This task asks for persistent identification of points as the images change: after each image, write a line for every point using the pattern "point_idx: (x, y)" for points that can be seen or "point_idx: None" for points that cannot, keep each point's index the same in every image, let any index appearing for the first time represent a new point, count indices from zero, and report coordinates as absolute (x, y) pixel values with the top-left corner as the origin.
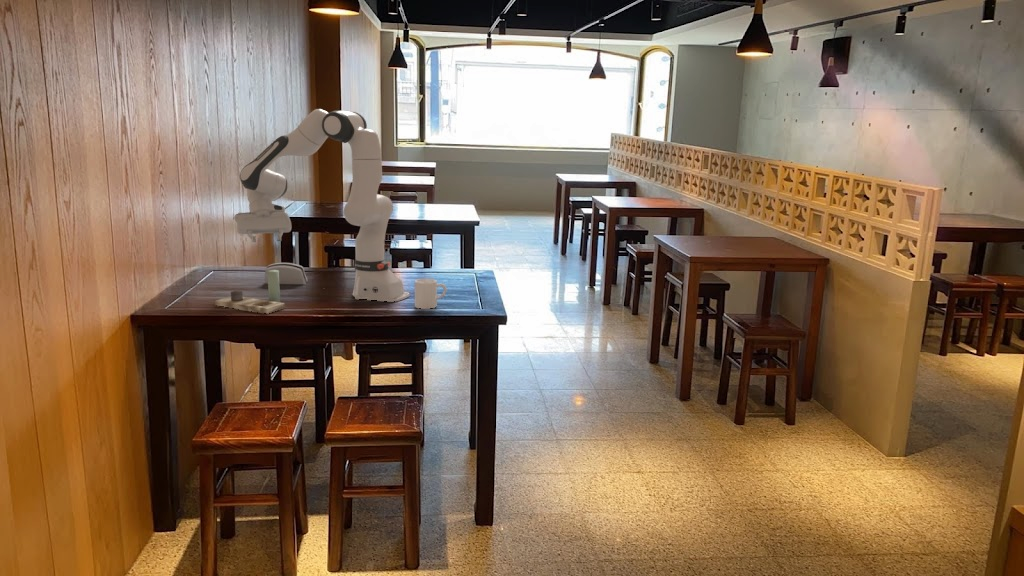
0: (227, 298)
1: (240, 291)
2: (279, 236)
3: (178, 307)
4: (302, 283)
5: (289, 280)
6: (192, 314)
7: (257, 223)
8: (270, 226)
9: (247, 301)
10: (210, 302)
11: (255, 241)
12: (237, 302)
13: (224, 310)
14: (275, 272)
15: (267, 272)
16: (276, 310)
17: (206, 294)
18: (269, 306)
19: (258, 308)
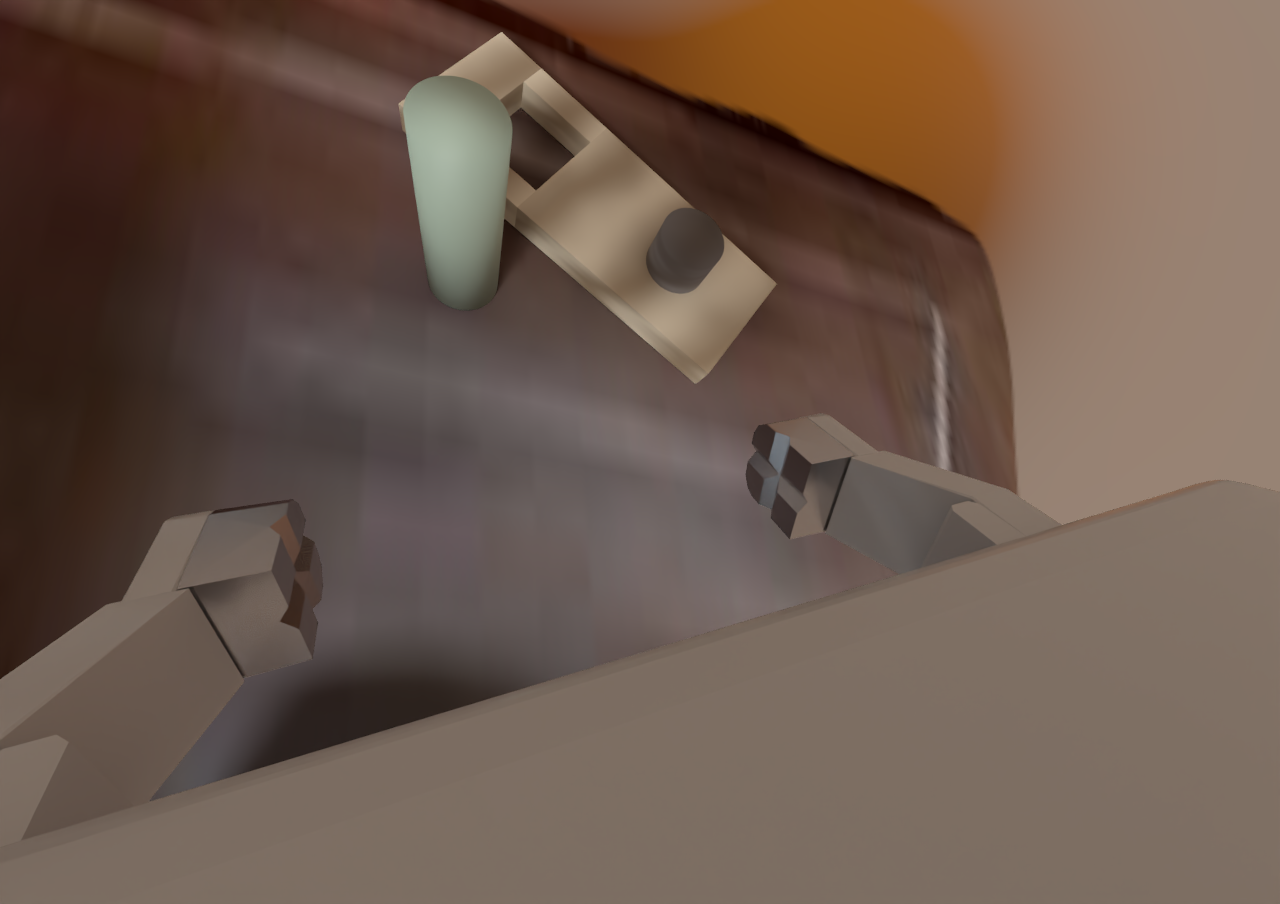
0: (727, 312)
1: (673, 242)
2: (204, 546)
3: (899, 319)
4: None
5: None
6: (820, 185)
7: (1121, 783)
8: (468, 772)
9: (617, 214)
10: (797, 377)
11: (754, 456)
12: (666, 209)
13: (709, 203)
14: (437, 78)
15: (511, 134)
16: None
17: (852, 566)
18: (491, 67)
19: (549, 82)
